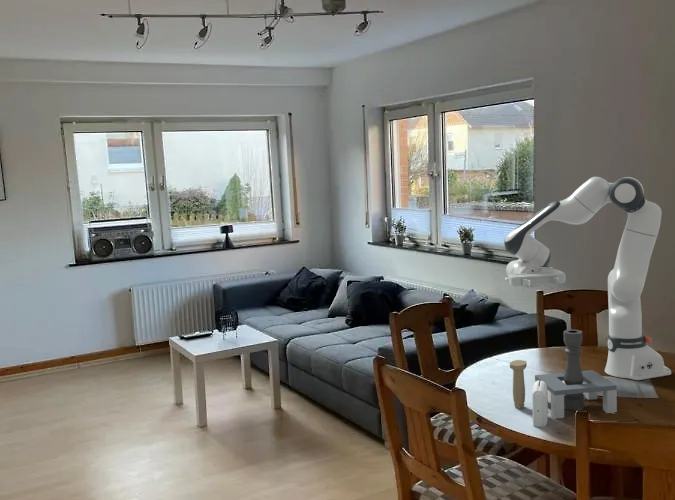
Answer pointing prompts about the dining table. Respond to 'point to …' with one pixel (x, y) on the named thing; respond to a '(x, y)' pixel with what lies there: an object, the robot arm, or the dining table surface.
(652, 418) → the dining table surface
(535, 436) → the dining table surface
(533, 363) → the dining table surface
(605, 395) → the hole stand
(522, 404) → the handle
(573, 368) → the candle holder
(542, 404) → the photo printer
